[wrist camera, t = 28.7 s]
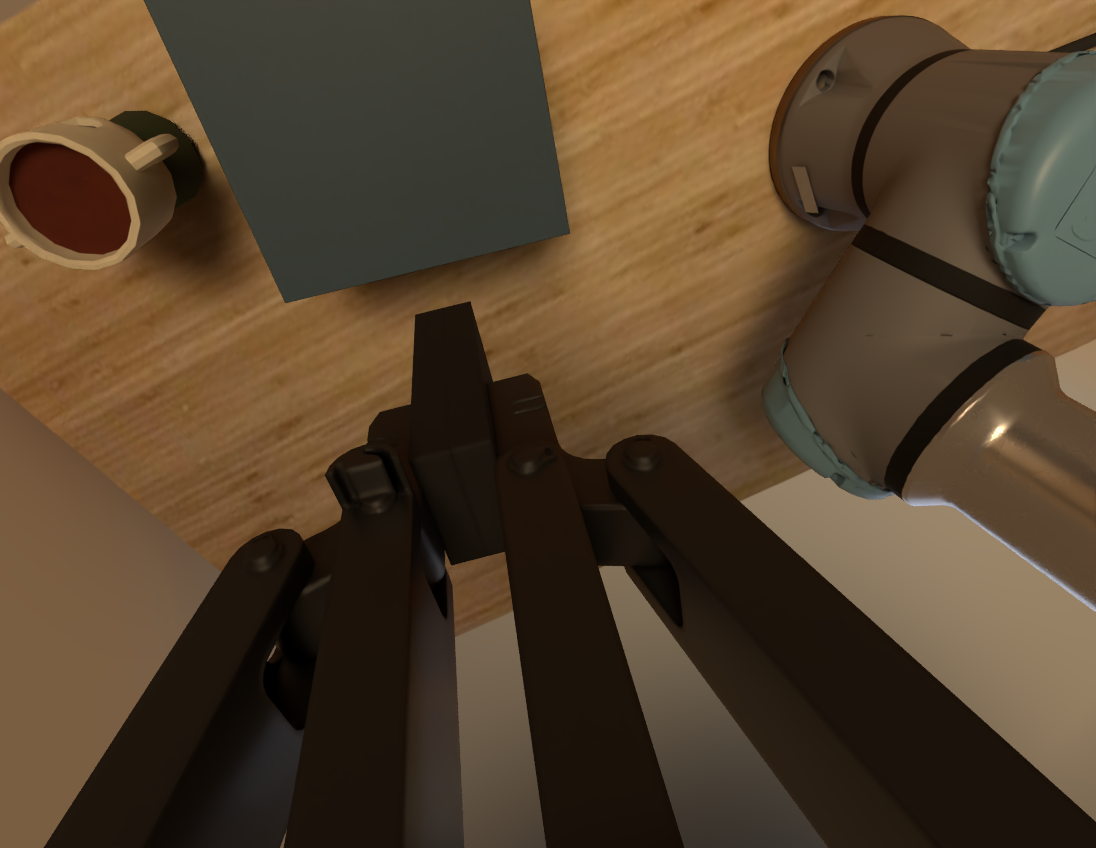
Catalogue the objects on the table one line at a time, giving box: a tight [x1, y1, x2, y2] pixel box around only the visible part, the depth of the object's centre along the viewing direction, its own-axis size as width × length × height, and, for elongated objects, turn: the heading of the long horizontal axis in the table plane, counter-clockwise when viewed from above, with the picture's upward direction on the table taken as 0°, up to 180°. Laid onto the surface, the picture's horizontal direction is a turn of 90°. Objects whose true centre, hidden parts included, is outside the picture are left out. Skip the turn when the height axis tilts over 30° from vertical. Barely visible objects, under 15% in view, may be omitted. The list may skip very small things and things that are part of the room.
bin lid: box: [144, 0, 570, 303], centre depth 31 cm, size 15×17×1 cm
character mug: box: [0, 111, 202, 270], centre depth 37 cm, size 11×7×13 cm, turn 117°
